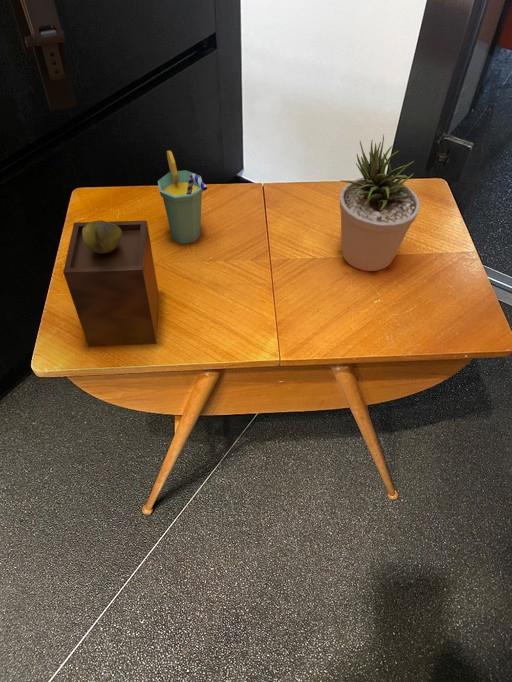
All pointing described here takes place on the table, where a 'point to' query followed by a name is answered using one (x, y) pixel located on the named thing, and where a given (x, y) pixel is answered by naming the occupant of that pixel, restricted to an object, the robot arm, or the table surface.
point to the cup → (182, 202)
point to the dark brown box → (114, 287)
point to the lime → (101, 236)
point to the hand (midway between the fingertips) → (50, 79)
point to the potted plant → (375, 212)
